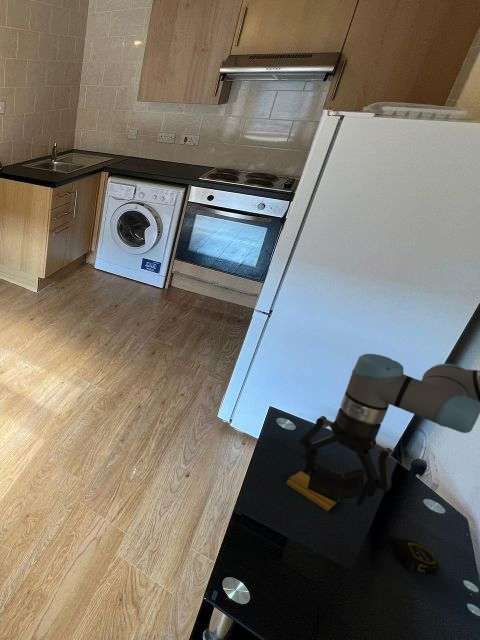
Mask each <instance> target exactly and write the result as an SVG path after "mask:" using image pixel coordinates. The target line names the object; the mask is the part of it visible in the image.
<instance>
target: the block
mask: <svg viewBox="0 0 480 640" xmlns="http://www.w3.org/2000/svg"><path fill="white" fill-rule="evenodd" d="M309 479H310V475H308V474H306V473H304V471H302V470H299V471H298V472H296V474H292V475H291V476H290V477H289V479H288V480H287V481H286V483H285V485H287V486H288V487H290V488H291V489H293V490H295V491H296V492H297V493H299V494H300V495H302V496H303V497H305V498H307V499H308V500H309V501H311V502H312V503H314V504H315V505H317V506H319V507H320V508H322V509H323V510H325V511H326V512H329V511H330V510H331V509H332V508H333V507H334V506H336V504H337V503H336V502H334V501H332V500H330V499H328V498H326V497H324V496H322V495H319V494H318V493H316V492H314V491H311V490H309V489H308V483H309ZM339 501H340V500H338V502H339Z"/></svg>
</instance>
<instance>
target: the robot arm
mask: <svg viewBox="0 0 480 640" xmlns="http://www.w3.org/2000/svg"><path fill="white" fill-rule="evenodd" d="M404 370H405V369H404V366H403V364H401V363H400V362H399V361H398V360H397V361H396V360H393V359H392V358H391V357H387V356H384V355H381V354H377V353H363V354H362V355H360V356H358V359H357V361H356V363H355V365H354V368H353V369H352V370H351V371H352V372H351V375H350V378H349V381H348V383H347V387H346V390H345V391H344V395H343V398H342V400H341V403H340V408H339V409H338V410H337V414H336V416H335V419H334V421H332V420H329V419H327V417H326V416H324V415H321V416H319V417H318V418H317V419H316V421H315V425H314V426H313V427H311V429H310V430H309V431H307V433H305V434H304V435H303V436H302V437H301V438H300V439H299V440H298V443H299V445H301V446H303V447H305V452H304V454H303V459H304V460H305V461H306V464H305V467H304V469H303V473H305V474H306V475H308V474H309V473H311V470H312V467H313V464H315V461H316V459H317V456H318V453H319V450H318V449H320V448H322V447H325V446H328V445H331V444H334V443H336V442H337V443H338V444H339V445H341V446H343V447H346V448H348V449H349V450H351V451H352V452H354V453H356V456H357V457H358V459H359V460H360V462H361V465H362V469H363V471H364V474H365V477H366V478H367V481H366V482H365V483H363V491H362V495H361V496H358V499H357V501H356V505H357V506H359V507H362V505H363V504H365V502H366V500H367V497H369V498H371V499H372V498H373V497H374V496H375V495H376V493H377V491H378V489H379V490H382V491H383V492H388V491H389V490H390V489H391V488H392V476H391V474H392V473H391V463H390V457H391V455H392V453H393V450H392V448H390V447H383V446H382V445H379V444H378V443H377V440H376V439H377V437H378V434H379V431H380V429H381V427H382V423H383V421H384V419H385V418H386V414H387V412H388V410H389V407H390V406H393V407H395V408H398V409H401V410H403V411H406V412H408V413H410V414H413V415H415V416H417V417H420V418H423V419H425V420H427V421H430V422H432V423H434V424H437V425H438V426H441V427H444V428H448V429H451V430H453V431H457V432H459V433H462V434H469V433H471V431H472V430H473V428H474V427H475V425H476V422H477V421H478V418H479V416H480V370H478V369H477V370H476V369H466V368H464V367H461V366H459V365H456V364H452V363H440V364H436V365H433V366H432V367H430V368H429V369H427V370H426V371H425V372H424V373H423V375H422V379H418V378H414V377H412V376H410V375H407V374H404ZM328 427H330V430H331V432H332V434H330V435H329V436H326V437H323V438H321V439H318V440H316V441H313V442H310V440H311V439H312V438H314V437H315V436H316V435H317V434H318V433H319V432H320V431H321V430H322V429H323V428H324V429H326V428H328ZM372 449H373V450H375V453H376V455H377V456H378V459H377V460H378V462H377V463H378V472H379V473H377V469H376V467H375V465H374V462H373V459H372V457H371V452H370V450H372ZM378 474H379V475H378Z"/></svg>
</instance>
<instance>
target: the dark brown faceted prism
mask: <svg viewBox="0 0 480 640" xmlns="http://www.w3.org/2000/svg"><path fill="white" fill-rule="evenodd" d="M309 476H310V479H309V483H308V489H309V490H311V491H314V492H316V493H318V494H319V495H322V496H324V497H326V498H328V499H330V500H332V501H334V502H336V504H338V503H339V501H342V500H347V499H352V498H356V497H359V496H361V495H362V491H363V487H364V476H365V471H364V468H360V469H356V470H353V471H349V472H345V473H336V472H334V471H332V470H330V469H328V468H325V467H324V466H320V465H319V464H316V463H314V464H313V467H312V470H311V471H310V474H309ZM338 500H339V501H338Z"/></svg>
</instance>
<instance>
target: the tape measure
mask: <svg viewBox="0 0 480 640" xmlns="http://www.w3.org/2000/svg"><path fill="white" fill-rule="evenodd" d="M390 545H391V547H392V548H393V549H394V551H395V553H396V554H397V556H399V558H400V560H401V562H402V563H403V564H404V566H405V567H406V568H407V569H408V570H409V571H414V572H415V571H416V572H419V573H421V574H425V575H432V574H434V573H435V572H437V570H438V569H439V561H438V558H437V557H436V556H435V555H434V554H433V553H432V552H431V550H429V549H428V548H426V547H425V546H424V545H422V544H420V543H419V542H415V541H414V540H410V539H401V538H392V539H391V540H390Z"/></svg>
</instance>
